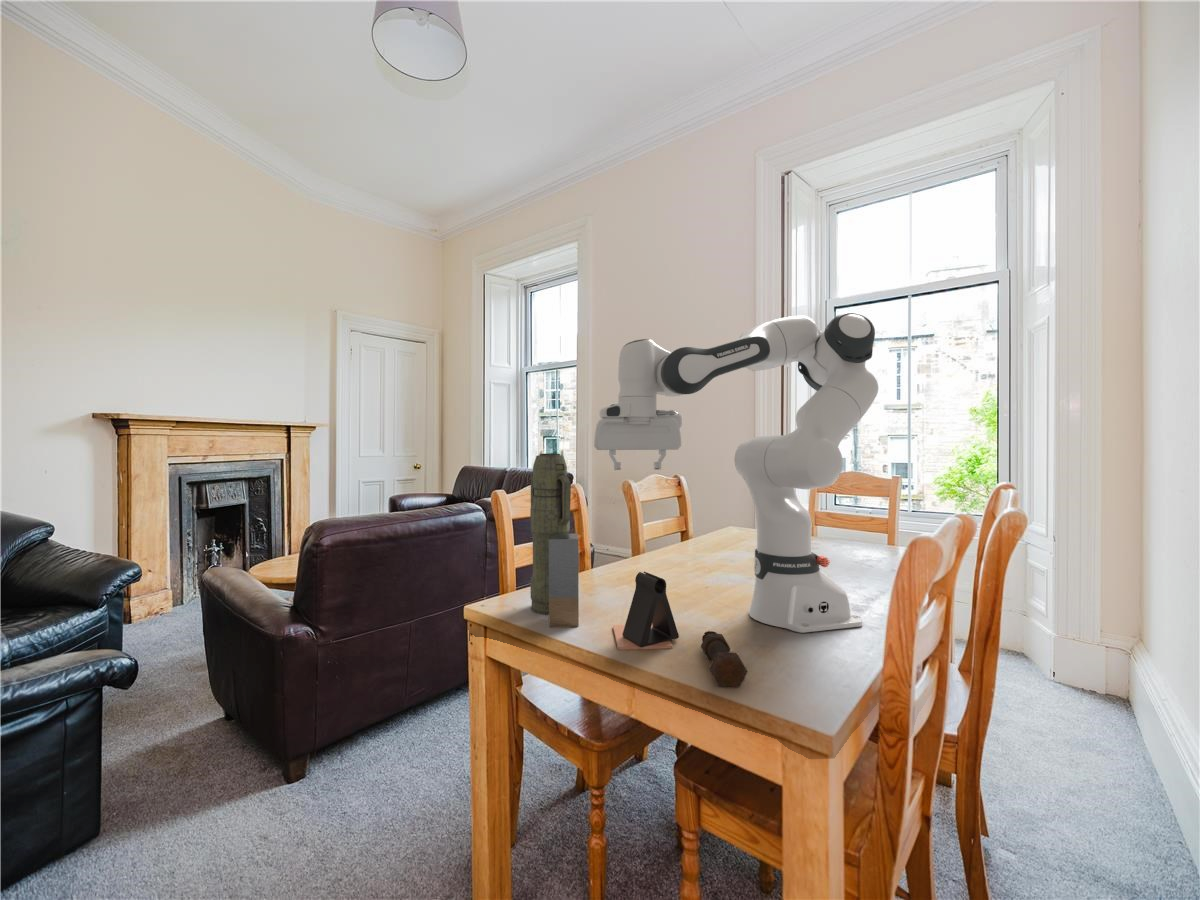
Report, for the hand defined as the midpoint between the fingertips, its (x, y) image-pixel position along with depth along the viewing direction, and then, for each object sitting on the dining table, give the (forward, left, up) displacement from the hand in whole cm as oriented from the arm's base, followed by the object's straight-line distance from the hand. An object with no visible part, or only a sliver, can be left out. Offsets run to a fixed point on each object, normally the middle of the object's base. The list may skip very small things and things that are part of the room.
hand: (637, 469), depth 122 cm
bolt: (-10, +35, -32) cm, 48 cm away
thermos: (+20, +3, -31) cm, 37 cm away
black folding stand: (0, +23, -31) cm, 38 cm away
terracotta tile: (+2, +22, -31) cm, 38 cm away
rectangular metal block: (+17, +12, -31) cm, 37 cm away
